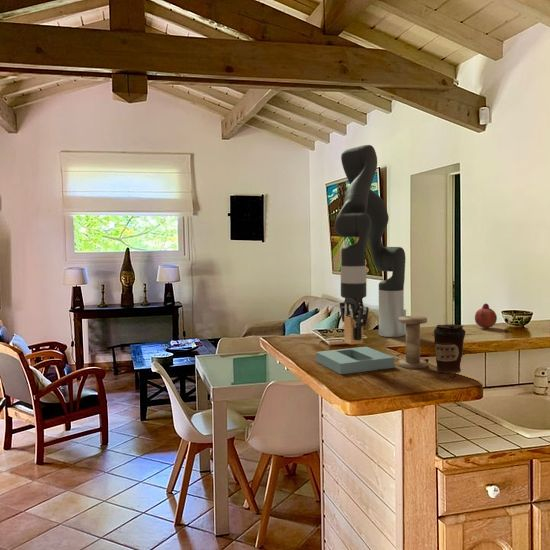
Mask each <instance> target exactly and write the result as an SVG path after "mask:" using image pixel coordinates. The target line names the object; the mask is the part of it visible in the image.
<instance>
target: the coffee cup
mask: <svg viewBox="0 0 550 550" xmlns="http://www.w3.org/2000/svg"><path fill="white" fill-rule="evenodd" d="M463 327H464V326H463V325H461V324H460V325H459V324H446V323H445V324H437V325H436V326H435V328H434V330H433V337H434V351H435V353H434V355H435V361H436V363H435V364H436V371H437V372H439V373H442V374H443V373H444V374H460V373H462V369H461V362H462V358H463V355H464V354H463V353H464V342H465V341H464V340H465V337H466V330H465V329H463Z"/></svg>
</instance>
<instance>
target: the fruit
mask: <svg viewBox="0 0 550 550" xmlns="http://www.w3.org/2000/svg"><path fill="white" fill-rule="evenodd" d="M497 319H498V317H497V313H496V312H495V311H494V310H493V309H492V308H490V306H489V304H488V303H483V305H482V307H481V308H479V309H478V310H476V312H475V315H474V321H475V323H476V325H477V326H479V327H481V328H483V329H488V328H492V327H493V326H494V325H495V324H496V323H497Z"/></svg>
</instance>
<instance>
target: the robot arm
mask: <svg viewBox="0 0 550 550" xmlns="http://www.w3.org/2000/svg"><path fill="white" fill-rule="evenodd" d="M340 158H341V159H340V160H341V164H342V169H343V171H344V174H345V176H346V178H347V181H348V183H349V186H348V187H347V189H346V192H345V194H344V201H343V205H342V207H341V209H340V211H338V213H337V215H336V218H335V219H334V220H335V221H334V231H335V233H336V234H337V235H338V236H339V237H341V238H358V240H357V242H355V243H352V244H349V245H345V246H342V248H341V253H340V254H341V255H340V256H341V257H340V258H341V265H340V266H341V268H340V297H341V298H343V299H344V301H342V302H340V303H339V310H340V316H341V321H342V322H343V323H344V315H346V316H348V315H351V317H352V320H353V324H354V340H361V339H362V330H361V329H362V327H363V328H364V327H366V325H367V322H368V317H369V310H370V308H369V307H368V306H364V300H363V299H364V298H366V297H367V269H366V251H367V244H368V242H369V246H370V250H371V256H372V259H373V264H374V266H375V268H376V269H377V270H378V271H380V272H392V274H391V276H390V277H389V278H387V279H384V280H381V281H380V282H378V335H379V336H381V337H386V338H398V337H399V338H400V337H403V336H406V323H401V322H399V317H402V316H407V310H406V309H404V308H405V304H404V303H405V302H404V301H405V299H404V298H405V296H404V294H405V292H404V291H405V289H404V288H405V281H406V280H405V279H406V278H405V277H406V275H405V273H406V252H405V250H404V248H403V247H402V246H385V245H384V243H383V235H384V232H385V231H386V229H387V226H388V224H389V213H388V211H387V210H388V209H387V206H386V202H385V201H384V199H383V198H382V197H381V196H380V195H379V194H377V192H375V191H373V190H372V189H371V187H372V184H373V181H374V177H375V175H376V172H377V168H378V157H377V153H376V150H375V147H373V146H372V144H371V145H370V144H364V145H360V146H355V147H352V148H348V149H345V150H342V152H341V156H340ZM355 316H358V317H355ZM362 319H363V322H362ZM356 320H357V322H356Z"/></svg>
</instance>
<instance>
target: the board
mask: <svg viewBox="0 0 550 550" xmlns="http://www.w3.org/2000/svg"><path fill="white" fill-rule="evenodd" d="M315 357H316V358H315V360H316V363H318V364H320V365H322V366H324V367H325V368H327V369H330V370H331V371H334V372H336V373H337V374H339V375H346V374H354V373H355V374H356V373H362V372H369V371H379V370H385V369H386V370H387V369H394V368H396V367H395V357H394V356H392V355H390V354H387V353H385V352H381V351H379V350H376V349H373V348H371V347H369V346H359V347H350V348H349V347H348V348H342V349H340V348H339V349H331V350H330V349H329V350H324V351H322V350H321V351H316V353H315ZM378 369H379V370H378Z"/></svg>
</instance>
